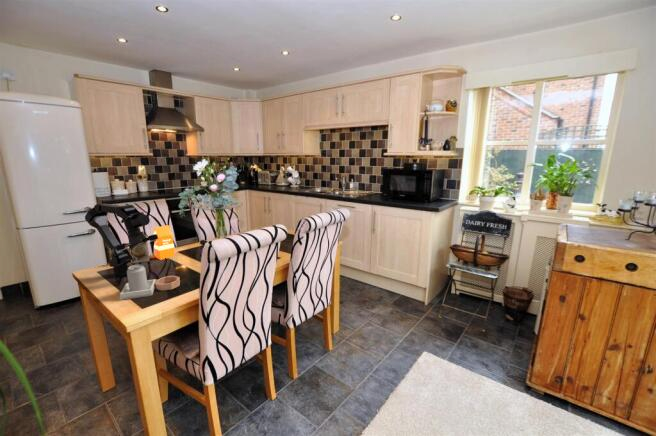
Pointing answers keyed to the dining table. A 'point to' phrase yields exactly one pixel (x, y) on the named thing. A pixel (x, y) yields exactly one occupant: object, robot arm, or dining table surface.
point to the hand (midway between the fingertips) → (143, 257)
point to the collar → (161, 286)
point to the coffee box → (140, 252)
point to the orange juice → (164, 242)
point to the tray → (136, 294)
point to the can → (137, 278)
